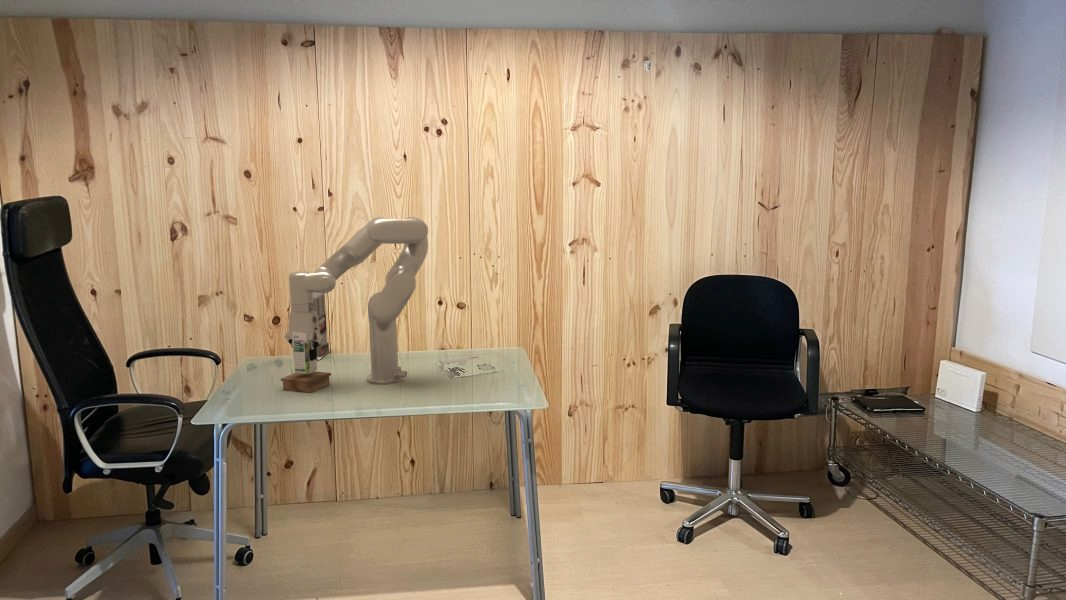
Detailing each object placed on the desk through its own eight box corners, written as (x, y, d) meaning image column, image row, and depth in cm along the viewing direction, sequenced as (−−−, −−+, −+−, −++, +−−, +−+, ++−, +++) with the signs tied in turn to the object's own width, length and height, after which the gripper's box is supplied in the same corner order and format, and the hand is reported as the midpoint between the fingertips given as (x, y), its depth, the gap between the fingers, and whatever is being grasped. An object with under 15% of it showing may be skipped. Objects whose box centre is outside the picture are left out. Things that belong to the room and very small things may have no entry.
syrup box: (294, 373, 266) (291, 331, 263) (303, 368, 271) (301, 328, 269) (308, 374, 264) (305, 332, 261) (318, 370, 269) (315, 329, 267)
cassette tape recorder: (321, 360, 306) (317, 298, 302) (305, 360, 306) (301, 298, 302) (329, 352, 320) (326, 292, 315) (315, 352, 320) (311, 292, 315)
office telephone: (434, 358, 299) (484, 353, 306) (435, 365, 299) (484, 360, 307) (451, 372, 278) (503, 366, 285) (451, 379, 278) (503, 373, 285)
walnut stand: (331, 383, 272) (331, 372, 271) (310, 393, 261) (309, 381, 260) (303, 380, 276) (302, 370, 275) (281, 389, 265) (280, 378, 264)
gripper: (330, 307, 264) (332, 358, 267) (288, 304, 270) (291, 354, 273) (316, 311, 257) (319, 363, 260) (274, 308, 263) (277, 359, 266)
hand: (305, 358), depth 267 cm, fingers closed on syrup box, 5 cm apart
